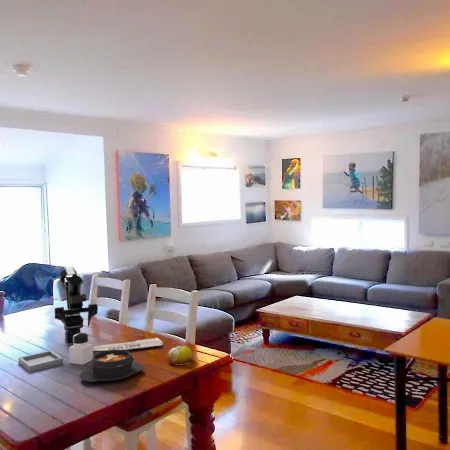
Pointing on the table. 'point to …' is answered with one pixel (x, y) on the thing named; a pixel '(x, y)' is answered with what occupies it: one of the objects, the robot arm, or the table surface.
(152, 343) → the newspaper
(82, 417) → the table surface
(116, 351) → the casserole
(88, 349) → the medicine bottle
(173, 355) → the fruit
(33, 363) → the tray
